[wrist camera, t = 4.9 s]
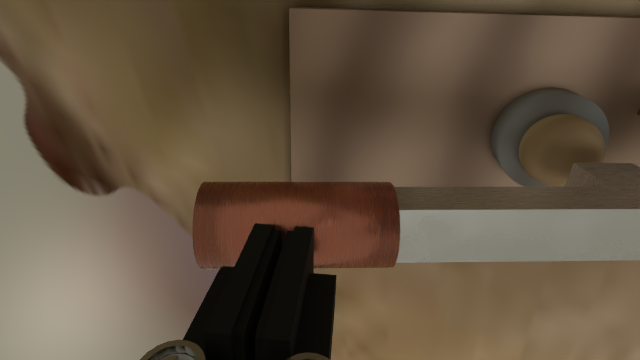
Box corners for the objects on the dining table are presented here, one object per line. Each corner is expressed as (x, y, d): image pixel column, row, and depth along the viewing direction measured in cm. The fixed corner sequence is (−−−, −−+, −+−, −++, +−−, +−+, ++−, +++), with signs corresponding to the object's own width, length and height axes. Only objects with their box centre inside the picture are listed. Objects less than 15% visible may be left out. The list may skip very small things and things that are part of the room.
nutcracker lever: (779, 154, 15) (936, 207, 11) (742, 213, 16) (872, 279, 12) (218, 152, 14) (187, 210, 10) (225, 215, 15) (200, 288, 11)
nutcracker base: (721, 18, 19) (1094, 46, 9) (628, 217, 24) (802, 367, 15) (295, 6, 21) (234, 19, 11) (296, 193, 26) (256, 311, 17)
